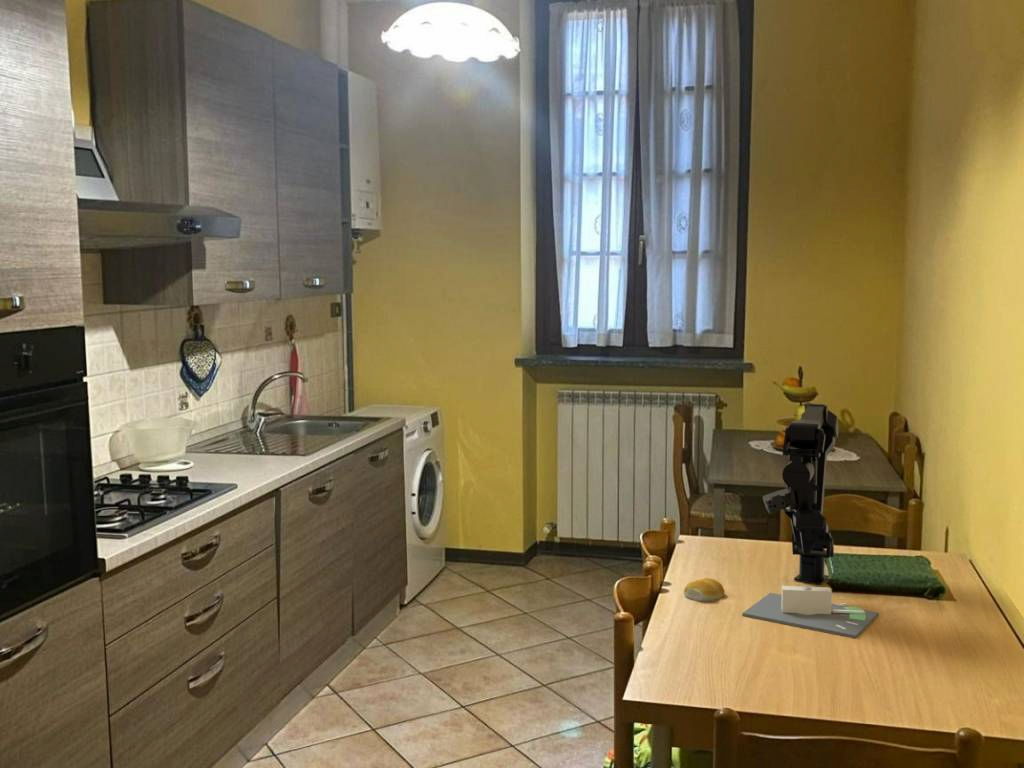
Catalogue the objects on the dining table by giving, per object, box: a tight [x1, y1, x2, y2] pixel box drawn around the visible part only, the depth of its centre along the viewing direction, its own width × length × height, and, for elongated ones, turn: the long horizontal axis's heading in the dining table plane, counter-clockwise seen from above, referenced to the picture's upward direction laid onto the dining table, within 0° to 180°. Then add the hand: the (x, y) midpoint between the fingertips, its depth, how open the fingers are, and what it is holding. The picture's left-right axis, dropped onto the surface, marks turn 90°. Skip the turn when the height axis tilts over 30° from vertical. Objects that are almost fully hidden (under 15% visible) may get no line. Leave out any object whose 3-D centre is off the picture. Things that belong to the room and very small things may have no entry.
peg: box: [781, 585, 865, 614], centre depth 216 cm, size 3×17×5 cm, turn 81°
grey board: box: [742, 592, 880, 639], centre depth 217 cm, size 18×24×1 cm
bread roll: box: [683, 577, 725, 602], centre depth 230 cm, size 8×9×4 cm
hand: (801, 548), depth 224 cm, fingers open, 9 cm apart
